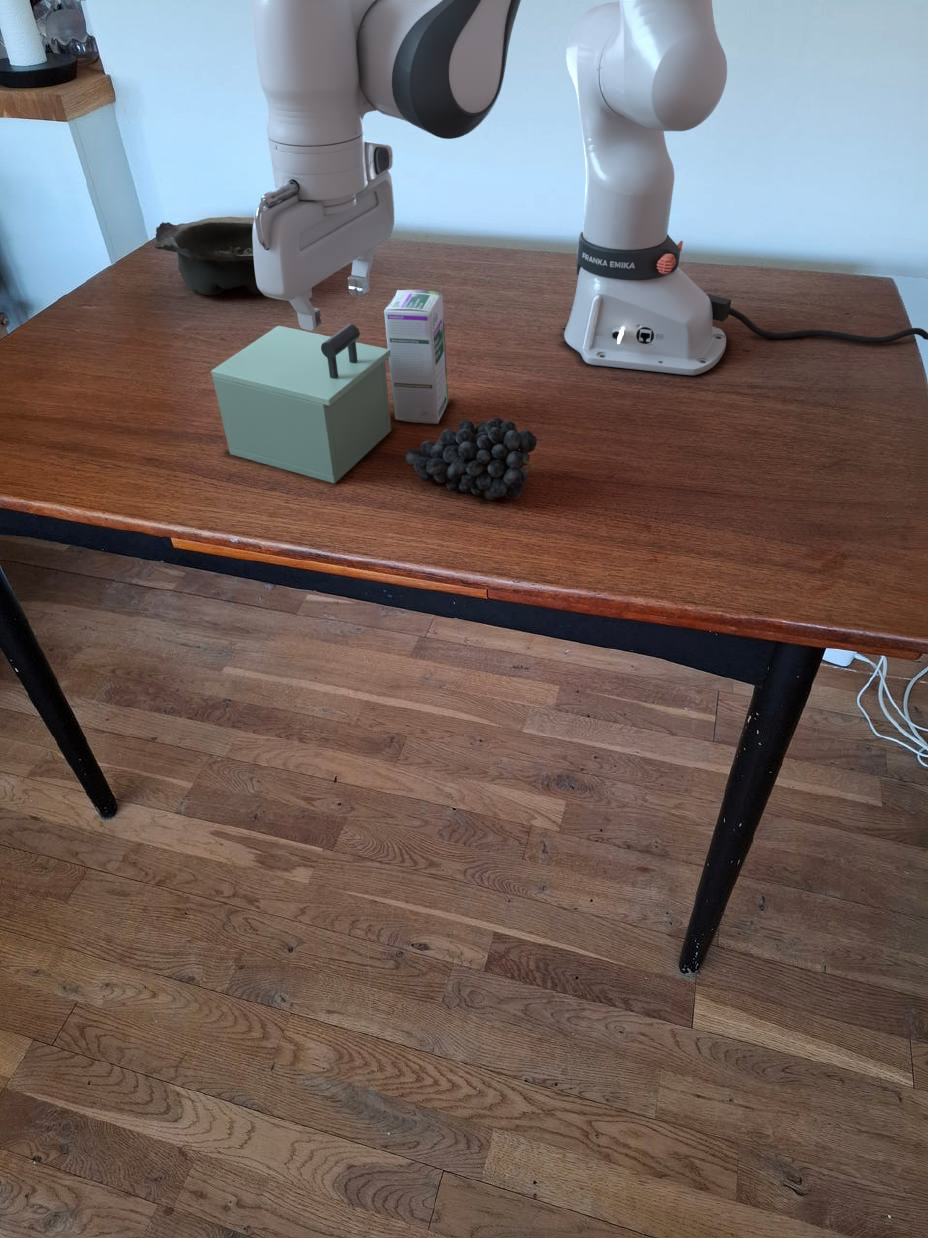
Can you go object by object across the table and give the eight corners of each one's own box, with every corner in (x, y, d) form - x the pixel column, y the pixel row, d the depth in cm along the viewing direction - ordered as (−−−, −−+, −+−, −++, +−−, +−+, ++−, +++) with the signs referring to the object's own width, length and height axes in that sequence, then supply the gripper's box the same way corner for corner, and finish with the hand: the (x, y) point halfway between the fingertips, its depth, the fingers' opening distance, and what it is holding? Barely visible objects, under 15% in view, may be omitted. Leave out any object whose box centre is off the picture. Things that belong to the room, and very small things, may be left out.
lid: (390, 355, 102) (387, 313, 98) (329, 406, 93) (323, 361, 90) (279, 331, 107) (272, 290, 104) (212, 377, 99) (202, 334, 95)
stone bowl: (147, 310, 136) (131, 247, 130) (193, 261, 155) (181, 204, 150) (307, 307, 135) (298, 243, 129) (333, 258, 154) (326, 201, 149)
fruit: (393, 413, 94) (531, 431, 90) (420, 401, 101) (549, 416, 97) (391, 493, 97) (524, 513, 93) (417, 475, 104) (542, 493, 101)
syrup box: (438, 425, 110) (433, 310, 100) (392, 420, 110) (383, 307, 101) (448, 402, 114) (444, 290, 104) (404, 398, 115) (396, 287, 105)
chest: (391, 430, 109) (385, 354, 102) (334, 483, 100) (323, 405, 94) (291, 405, 114) (279, 331, 107) (229, 454, 105) (212, 377, 99)
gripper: (283, 204, 76) (304, 356, 85) (401, 143, 89) (409, 280, 99) (224, 194, 78) (251, 343, 87) (348, 137, 92) (360, 271, 101)
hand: (336, 309), depth 93 cm, fingers open, 8 cm apart
